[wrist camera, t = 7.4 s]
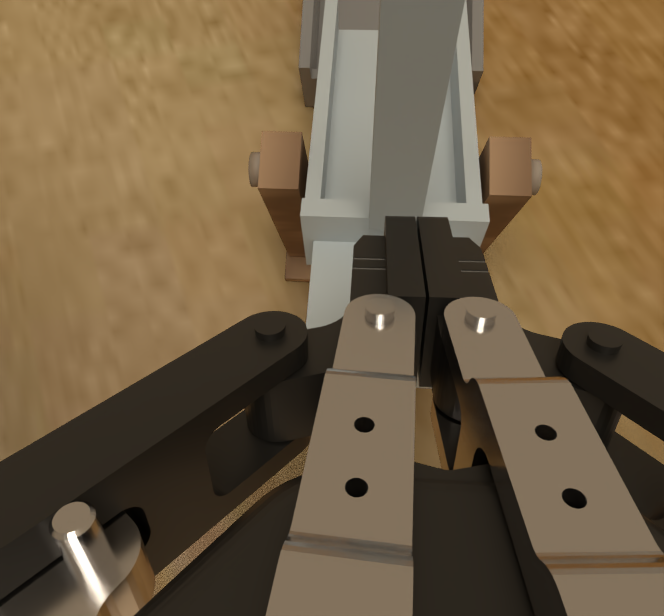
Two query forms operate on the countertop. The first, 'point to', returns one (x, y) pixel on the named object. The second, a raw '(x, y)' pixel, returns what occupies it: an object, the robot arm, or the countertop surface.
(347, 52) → the chute
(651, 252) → the countertop surface
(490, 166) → the stand
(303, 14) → the shallow gray tray
